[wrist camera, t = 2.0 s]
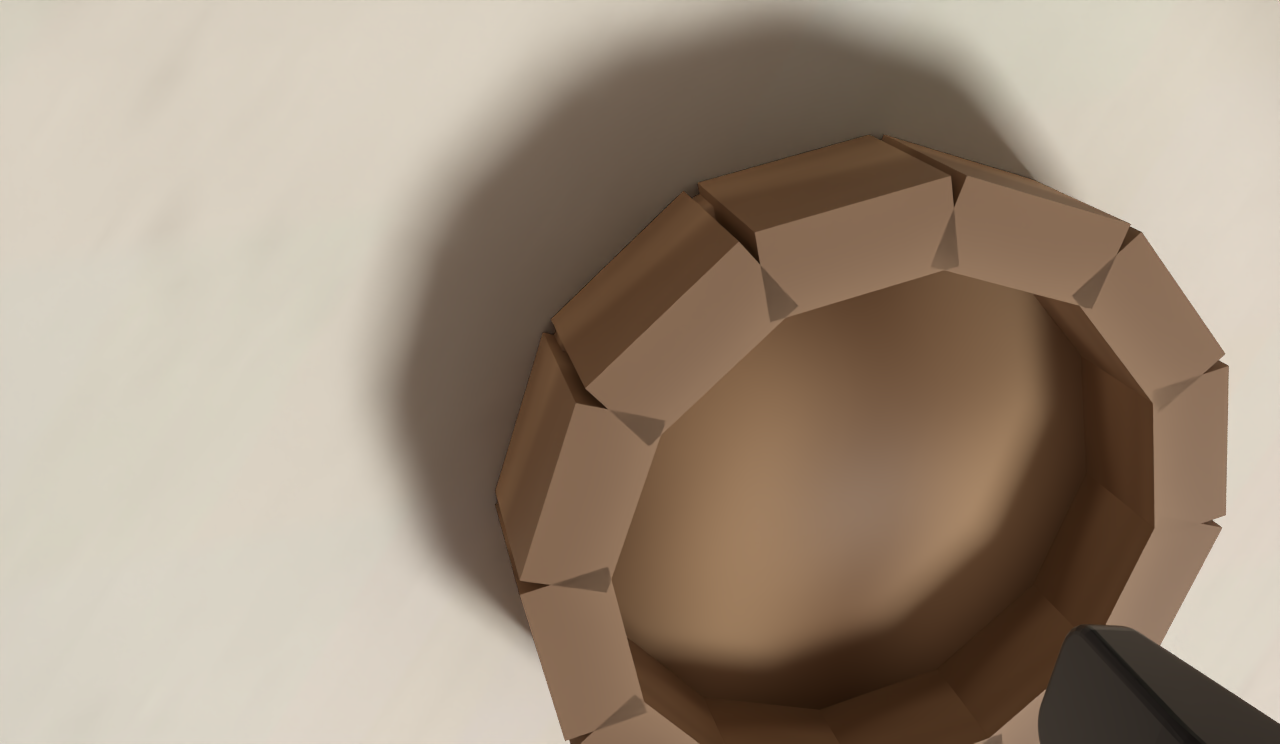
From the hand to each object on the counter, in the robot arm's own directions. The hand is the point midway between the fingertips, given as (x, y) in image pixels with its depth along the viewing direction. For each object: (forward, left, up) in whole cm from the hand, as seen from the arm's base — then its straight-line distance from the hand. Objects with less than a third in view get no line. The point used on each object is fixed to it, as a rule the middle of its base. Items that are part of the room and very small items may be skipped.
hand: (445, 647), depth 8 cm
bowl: (+7, -8, -12) cm, 16 cm away
